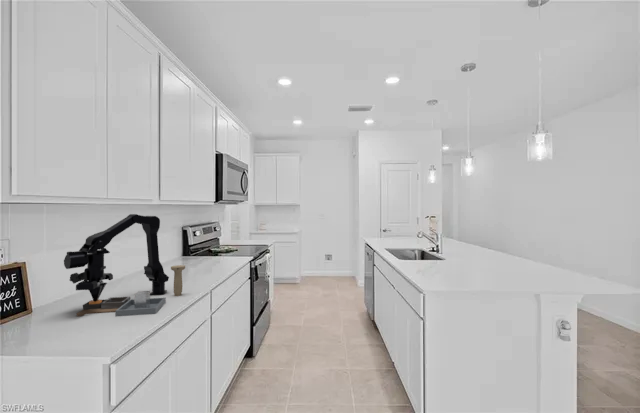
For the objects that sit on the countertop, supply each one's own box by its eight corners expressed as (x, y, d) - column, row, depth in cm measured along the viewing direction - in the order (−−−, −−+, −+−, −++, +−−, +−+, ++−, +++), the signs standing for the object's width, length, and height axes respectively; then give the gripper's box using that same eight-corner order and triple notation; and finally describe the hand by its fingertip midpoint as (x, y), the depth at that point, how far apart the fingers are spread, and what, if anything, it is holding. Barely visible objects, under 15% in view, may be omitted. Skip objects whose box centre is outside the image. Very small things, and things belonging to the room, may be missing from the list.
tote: (129, 306, 134) (129, 299, 134) (165, 304, 138) (165, 297, 138) (115, 318, 120) (115, 310, 120) (155, 315, 123) (155, 308, 123)
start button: (92, 305, 132) (92, 299, 132) (103, 304, 133) (103, 299, 133) (86, 308, 127) (86, 303, 127) (98, 308, 128) (98, 302, 128)
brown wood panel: (95, 304, 137) (95, 296, 137) (133, 302, 140) (133, 294, 140) (76, 316, 122) (76, 307, 122) (120, 313, 125) (120, 304, 125)
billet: (138, 307, 131) (138, 291, 131) (149, 306, 132) (149, 290, 132) (134, 311, 126) (134, 294, 126) (146, 310, 127) (146, 293, 127)
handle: (171, 295, 150) (171, 265, 150) (185, 294, 153) (185, 265, 153) (170, 298, 146) (170, 267, 146) (184, 297, 148) (184, 266, 148)
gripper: (85, 261, 137) (85, 295, 137) (60, 270, 119) (60, 309, 119) (113, 260, 140) (113, 294, 140) (92, 269, 122) (92, 307, 122)
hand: (95, 301), depth 130 cm, fingers closed, pressing on start button
